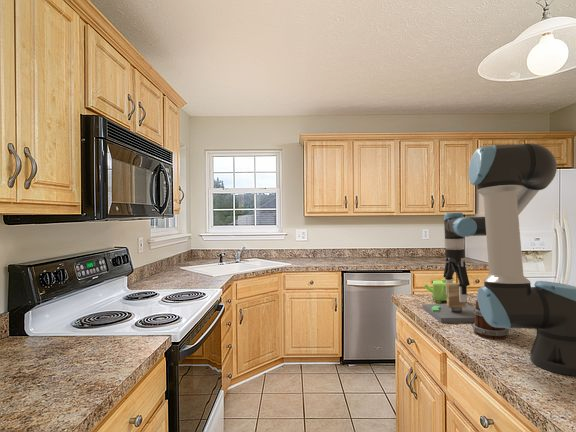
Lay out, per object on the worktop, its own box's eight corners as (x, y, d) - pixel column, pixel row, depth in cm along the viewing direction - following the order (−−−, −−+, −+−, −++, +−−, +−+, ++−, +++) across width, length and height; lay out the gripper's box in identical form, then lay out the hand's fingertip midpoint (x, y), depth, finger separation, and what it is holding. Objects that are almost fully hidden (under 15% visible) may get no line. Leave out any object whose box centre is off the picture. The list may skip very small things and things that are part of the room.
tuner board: (492, 322, 140) (491, 315, 140) (441, 323, 141) (440, 316, 141) (466, 307, 161) (466, 301, 161) (422, 308, 163) (422, 302, 163)
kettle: (468, 302, 170) (467, 280, 170) (446, 306, 165) (446, 283, 165) (443, 296, 184) (443, 275, 184) (423, 300, 178) (422, 278, 178)
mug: (462, 329, 131) (467, 290, 131) (495, 332, 134) (499, 293, 134) (485, 340, 119) (491, 296, 120) (520, 343, 122) (525, 300, 123)
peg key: (467, 312, 147) (466, 284, 147) (450, 312, 147) (449, 284, 147) (456, 305, 158) (455, 279, 158) (440, 306, 158) (439, 279, 158)
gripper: (477, 251, 136) (479, 305, 136) (451, 245, 161) (453, 291, 161) (458, 251, 137) (460, 305, 137) (435, 246, 162) (436, 291, 162)
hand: (456, 298), depth 149 cm, fingers open, 13 cm apart
